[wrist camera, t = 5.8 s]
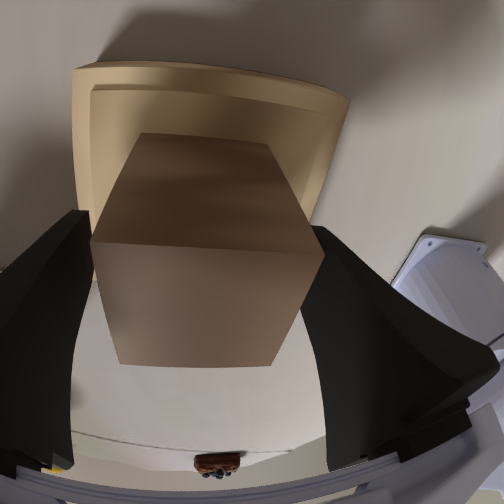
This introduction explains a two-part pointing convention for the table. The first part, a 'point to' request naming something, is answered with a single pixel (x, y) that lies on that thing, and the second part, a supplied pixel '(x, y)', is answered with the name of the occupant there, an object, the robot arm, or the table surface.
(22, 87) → the table surface
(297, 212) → the walnut block
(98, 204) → the oak base
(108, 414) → the table surface
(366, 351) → the robot arm
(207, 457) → the pastry
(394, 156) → the table surface
